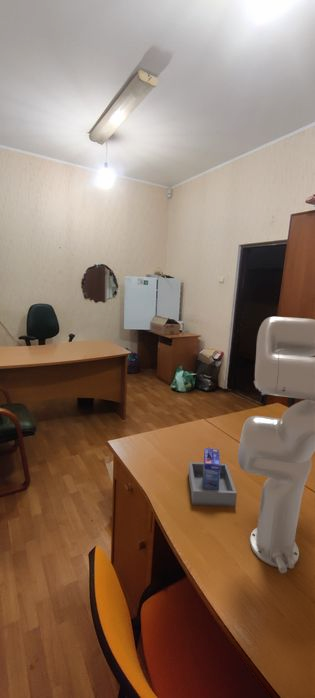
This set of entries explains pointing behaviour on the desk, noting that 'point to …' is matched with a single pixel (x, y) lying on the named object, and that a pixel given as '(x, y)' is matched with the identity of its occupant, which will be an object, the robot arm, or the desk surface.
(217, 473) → the ink cartridge box
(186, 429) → the desk surface
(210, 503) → the bin
